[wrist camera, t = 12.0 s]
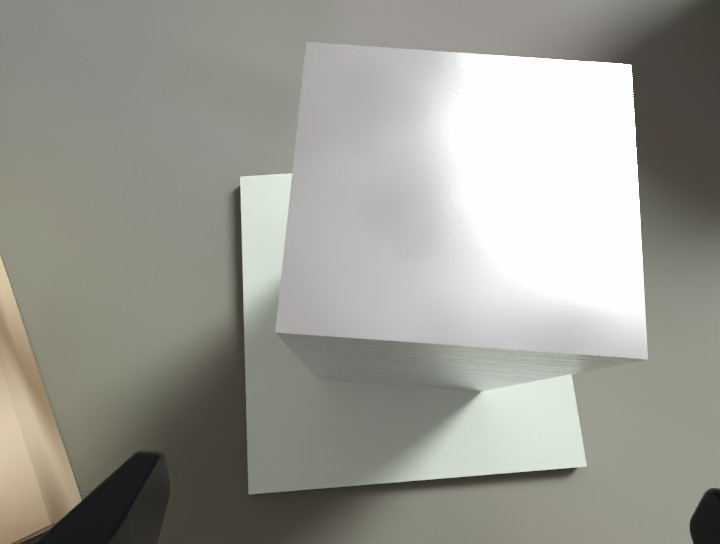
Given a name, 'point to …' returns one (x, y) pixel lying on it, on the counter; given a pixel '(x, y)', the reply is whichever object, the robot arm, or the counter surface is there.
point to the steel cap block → (462, 219)
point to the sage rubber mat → (374, 399)
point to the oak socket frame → (27, 437)
